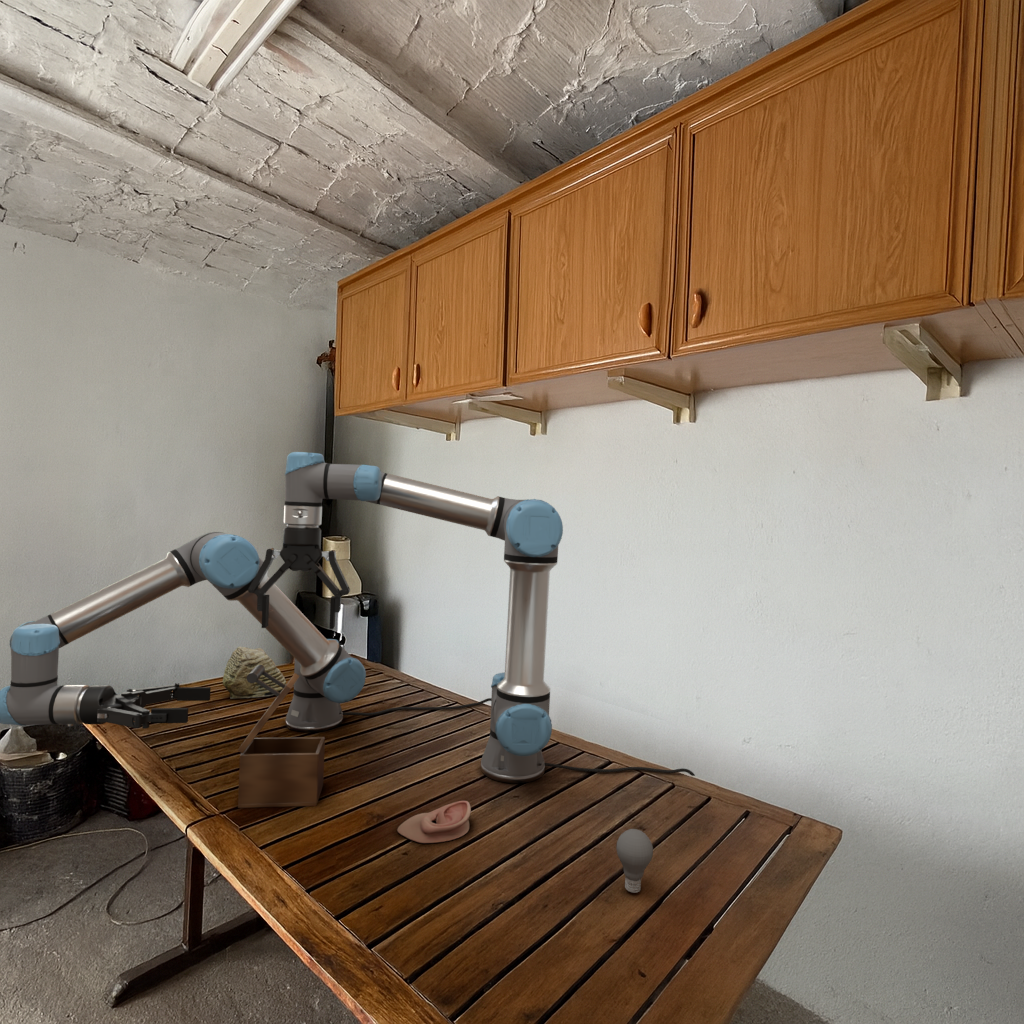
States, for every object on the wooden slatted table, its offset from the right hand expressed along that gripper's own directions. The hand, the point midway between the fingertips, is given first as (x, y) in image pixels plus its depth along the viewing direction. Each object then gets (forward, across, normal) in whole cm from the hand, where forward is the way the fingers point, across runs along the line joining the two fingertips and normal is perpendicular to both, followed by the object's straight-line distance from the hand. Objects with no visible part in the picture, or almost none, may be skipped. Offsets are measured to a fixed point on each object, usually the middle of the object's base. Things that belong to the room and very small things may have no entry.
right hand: (298, 627), depth 133 cm
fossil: (+36, -24, +69) cm, 81 cm away
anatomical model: (+36, +29, -16) cm, 49 cm away
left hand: (+16, -19, 0) cm, 25 cm away
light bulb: (+36, +62, -38) cm, 81 cm away
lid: (+18, -5, 0) cm, 19 cm away
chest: (+36, -2, 0) cm, 36 cm away
